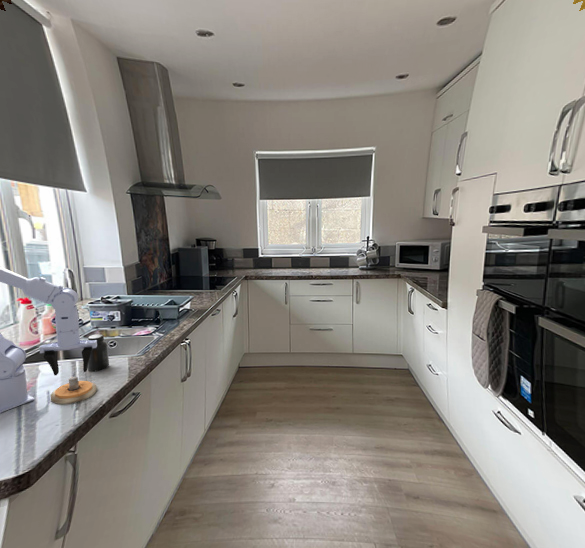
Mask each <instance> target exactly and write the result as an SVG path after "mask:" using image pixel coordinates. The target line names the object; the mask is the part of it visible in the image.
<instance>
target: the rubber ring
mask: <svg viewBox="0 0 585 548" xmlns="http://www.w3.org/2000/svg"><path fill="white" fill-rule="evenodd" d="M92 383H93V382H92ZM92 383H91V381H89V380H78V385H79V388H80V389H78V390H74V391H68V390H69V382H68V383H65V384H63V385H60V386H59V387H58V388H56V389H55V390H54V391H55V396H56V397H58V398H68V399H69V398H74V397H78V396H81V395H83V394H86V393H88V392H89V391H90V390H91V389H92Z"/></svg>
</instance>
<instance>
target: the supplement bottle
mask: <svg viewBox="0 0 585 548" xmlns="http://www.w3.org/2000/svg"><path fill="white" fill-rule="evenodd" d="M87 339H88V340H97V347H96V348H93V350H92V353H91V355H90V358H89V362H88V369H87V371H90V372H100V371H104V370H106V369H107V368H108V367H109V366H110V360H109V359H110V358H109V357H110V356H109V347H108V343H107V342H106V341H105V338H104V334H101V333H100V334H99V333H98V334H97V333H96V334H91V335H89V336H88V337H87Z"/></svg>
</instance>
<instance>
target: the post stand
mask: <svg viewBox="0 0 585 548" xmlns="http://www.w3.org/2000/svg"><path fill="white" fill-rule="evenodd" d="M78 381H79V378H78V376H72V377H69V378H68V383H69V390H68V391H74V390H78V389H80V388H79V385H78ZM90 382H91V381H90ZM91 383H92V389H91V390H90V391H89V392H88V393H86V394H83V395H81V396H78V397H74V398H69V399H68V398H58V397H56V396H55V390H54V391H52V393H51V394H50V401H51V402H52V403H54V404H57V405H68V404H74V403H78V402H81V401H84V400H87V399H89V398H91V397H92V396H94V395H95V394H96V393H97V390H98V386H97V384H95V382H91Z"/></svg>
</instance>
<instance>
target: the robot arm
mask: <svg viewBox="0 0 585 548" xmlns="http://www.w3.org/2000/svg"><path fill="white" fill-rule="evenodd" d="M0 283H2V284H5V285H8V286H11V287H14V288H17V289H19V290H22V293H23V295H24V296H25V297H28V298H31V299H33V300H37V301H39V302H42V303H44V304H47V305H50V306H51V307H52V308H53V310H54V314H55V316H54V318H55V329H56V331H55V332H56V342H53V343H46V344H41V345H40V346H39V354H44V355H43V356H42V357H43V358H44V360H45V361H46V362H47V364H48V365H49V366H50V369H51V371H52V373H53V376H58V374H60V373H59V371H60V368H59V363H58V361H59V360H58V359H59V357H58V354H59V353H58V352H60V351H61V352H62V351H71V350H81V356H82V363H83V364H82V367H83V368H82V369H83V373H87V372H88V362H89V358H90V355H91V353H92V350H93V348H96V347H97V340H85V339H84V340H83V339H81V338H80V323H79V312H78V305H77V303H78V301H79V294H78V293H77V292H76V291H75V290H74V289H72V288H71V287H70V288H69V287H64V286H63V285H57V284H54V283H52V282H49V281H47V278H45V277H40V278H39V277H32V278H28V277H25V276H23V275H21V274H19V273H16V272H14V271H11V270H9V269H7V268H4V267H3V266H0ZM26 359H27V352H26V351H25V349H24V348H22V347H20V346H18V345H17V344H15V343H14V342H13V341H12V340H9V339H7V338H5V337H4V336H3V334H2V333H1V332H0V414H1V413H4V412H6V411H8V410H11V409H14V408H16V407H19V406H21V405H24V404H27V403H29V402H32V401H34V400H35V397H33V396H31V395H29V394H28V387H27V386H28V385H27V377H26V376H27V375H26V368H25V366H24V365H23V363H24V362H25V361H26Z"/></svg>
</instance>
